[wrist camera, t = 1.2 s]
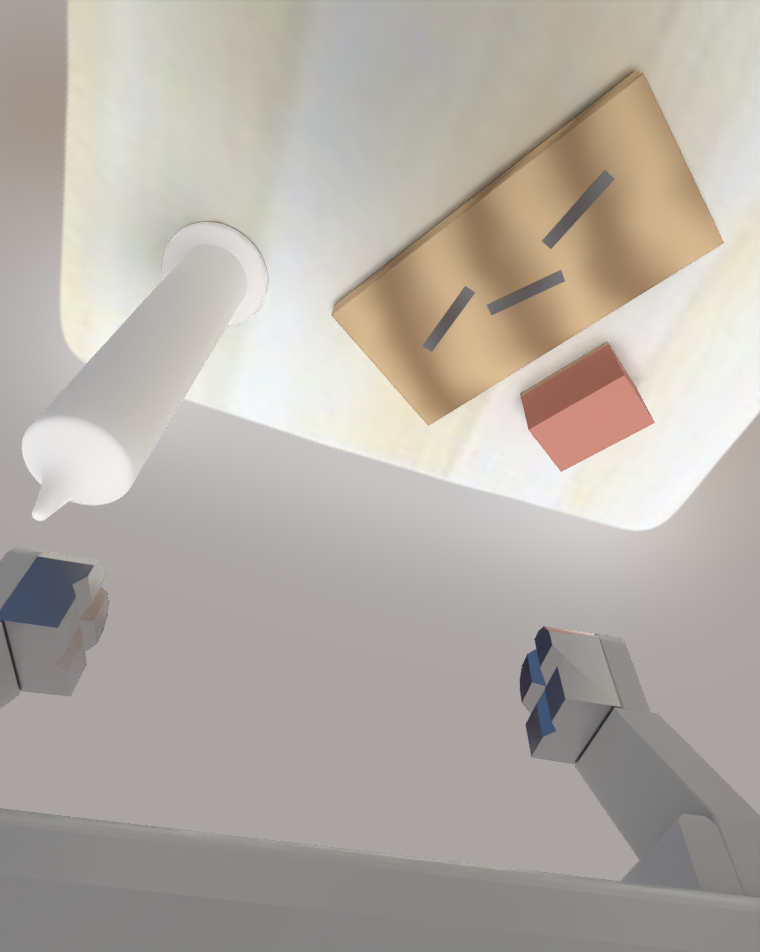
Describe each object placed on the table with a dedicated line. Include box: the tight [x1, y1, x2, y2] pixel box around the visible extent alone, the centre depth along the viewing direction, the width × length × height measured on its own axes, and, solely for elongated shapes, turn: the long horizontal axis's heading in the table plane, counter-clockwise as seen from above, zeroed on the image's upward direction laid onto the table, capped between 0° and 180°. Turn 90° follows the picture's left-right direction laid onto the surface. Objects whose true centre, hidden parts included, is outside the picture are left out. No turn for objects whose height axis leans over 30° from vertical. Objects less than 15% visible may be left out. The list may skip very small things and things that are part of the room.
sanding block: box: [521, 342, 655, 472], centre depth 45 cm, size 7×4×5 cm, turn 129°
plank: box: [332, 71, 724, 426], centre depth 41 cm, size 22×11×2 cm, turn 129°
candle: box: [22, 222, 268, 521], centre depth 33 cm, size 7×7×25 cm
